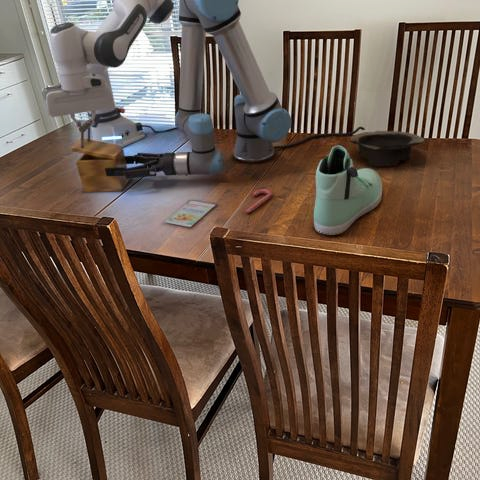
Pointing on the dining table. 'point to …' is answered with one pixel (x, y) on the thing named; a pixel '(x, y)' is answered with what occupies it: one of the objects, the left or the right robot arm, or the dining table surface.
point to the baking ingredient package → (190, 213)
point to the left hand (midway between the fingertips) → (86, 125)
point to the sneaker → (343, 192)
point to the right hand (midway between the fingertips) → (110, 166)
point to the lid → (95, 145)
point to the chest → (101, 173)
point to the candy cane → (261, 201)
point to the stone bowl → (385, 146)
